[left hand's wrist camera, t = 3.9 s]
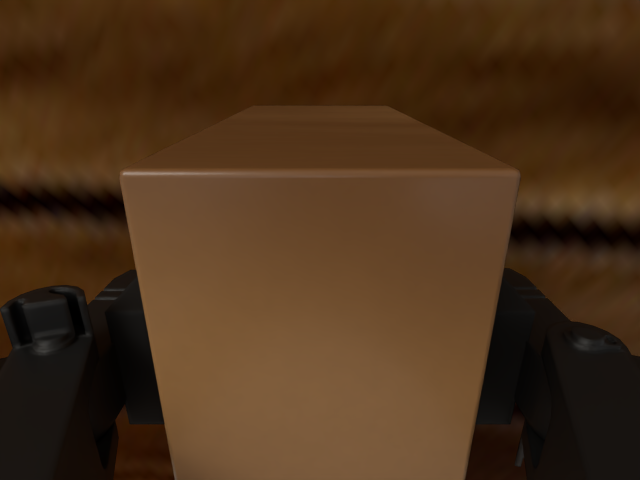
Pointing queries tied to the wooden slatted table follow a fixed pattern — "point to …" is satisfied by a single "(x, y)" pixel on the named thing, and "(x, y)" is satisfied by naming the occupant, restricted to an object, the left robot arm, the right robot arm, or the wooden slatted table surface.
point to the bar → (320, 292)
